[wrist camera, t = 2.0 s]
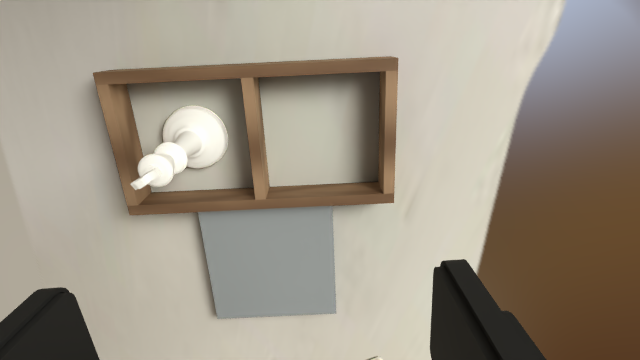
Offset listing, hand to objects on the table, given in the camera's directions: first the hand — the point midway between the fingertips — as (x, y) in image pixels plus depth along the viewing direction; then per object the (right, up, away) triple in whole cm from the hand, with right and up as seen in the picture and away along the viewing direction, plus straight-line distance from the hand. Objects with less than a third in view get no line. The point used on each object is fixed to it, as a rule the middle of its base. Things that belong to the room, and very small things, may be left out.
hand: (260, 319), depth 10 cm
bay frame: (-3, +7, +19) cm, 21 cm away
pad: (-3, -4, +23) cm, 24 cm away
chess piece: (-8, +7, +19) cm, 22 cm away
